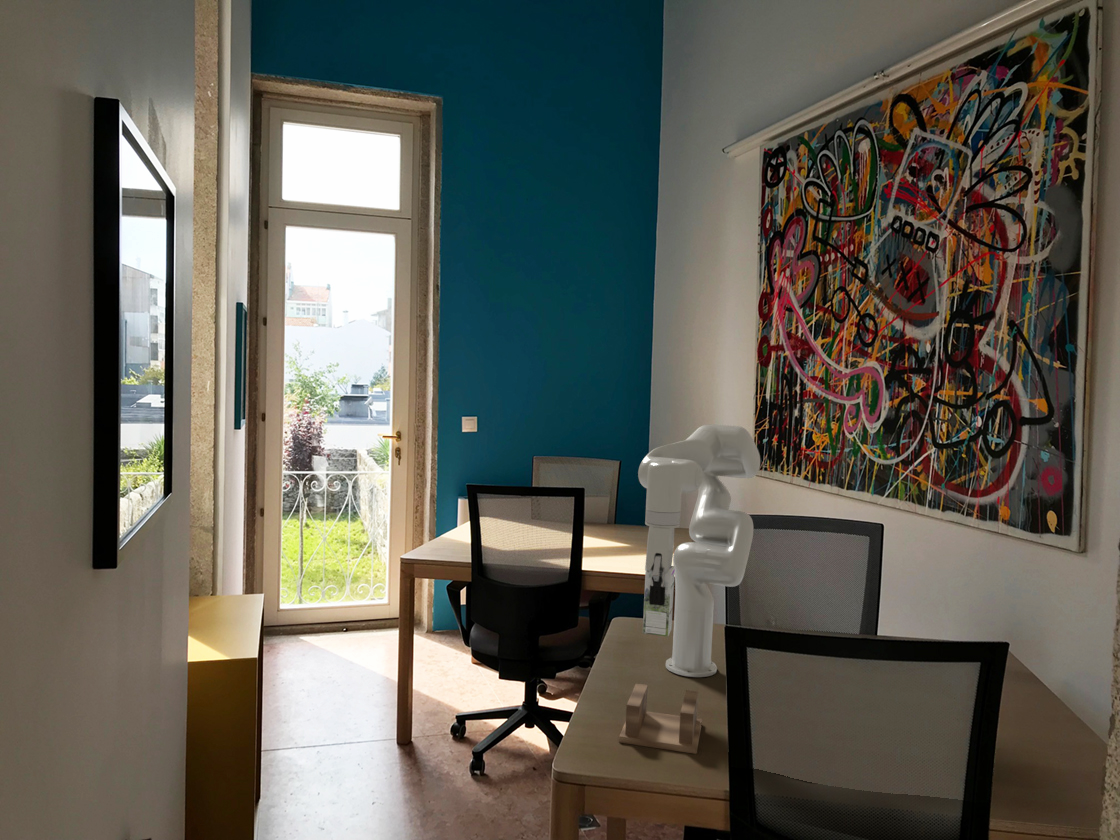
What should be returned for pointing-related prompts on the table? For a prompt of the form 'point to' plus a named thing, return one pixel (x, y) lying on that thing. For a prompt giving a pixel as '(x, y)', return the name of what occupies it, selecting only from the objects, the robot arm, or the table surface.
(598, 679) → the table surface
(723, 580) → the robot arm
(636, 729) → the slot block
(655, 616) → the syrup box
